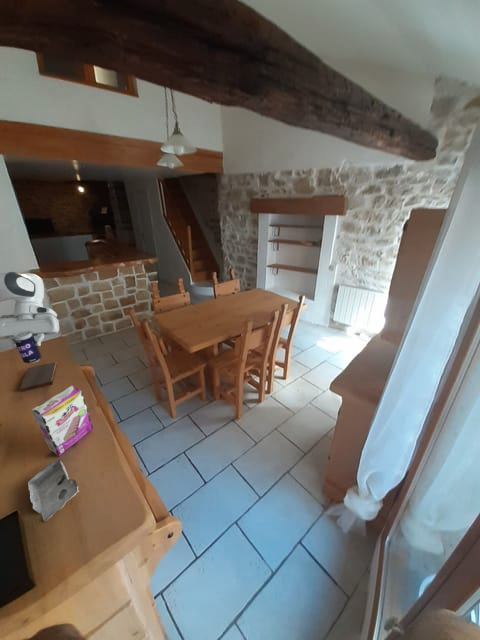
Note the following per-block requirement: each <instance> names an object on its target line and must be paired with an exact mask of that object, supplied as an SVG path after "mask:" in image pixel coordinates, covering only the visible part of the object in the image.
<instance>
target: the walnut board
mask: <svg viewBox="0 0 480 640" xmlns="http://www.w3.org/2000/svg"><path fill="white" fill-rule="evenodd" d="M57 367H58V363H57V361H54V362H49V363H44V364H41V365H36V366H31V367H27V369H26V372H25V373H24V374H25V375H24V377H23V380H22V382H21V385H20V387H19V391H20V392H22V393H23V392H26V391H30V390H35V389H39V388H43V387H48V386H52V385H53V384H54V380H55V376H56V371H57Z"/></svg>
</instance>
